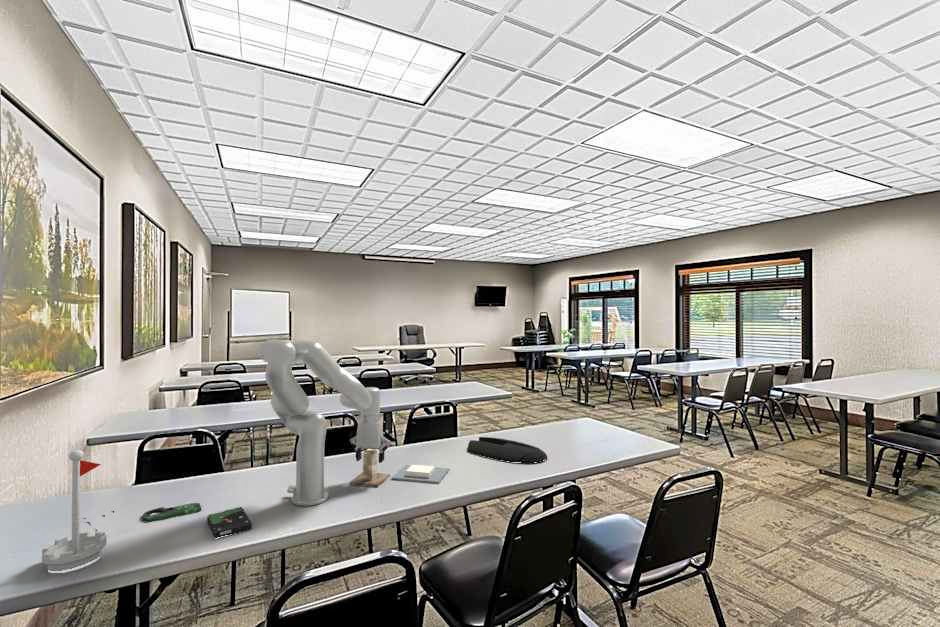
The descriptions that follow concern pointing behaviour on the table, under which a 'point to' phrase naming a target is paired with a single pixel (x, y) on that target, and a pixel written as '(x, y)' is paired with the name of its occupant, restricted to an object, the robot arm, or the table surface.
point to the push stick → (369, 464)
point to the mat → (434, 478)
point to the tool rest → (374, 482)
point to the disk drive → (229, 522)
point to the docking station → (506, 450)
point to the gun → (171, 512)
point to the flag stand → (75, 529)
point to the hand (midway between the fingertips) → (369, 461)
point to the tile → (420, 471)
